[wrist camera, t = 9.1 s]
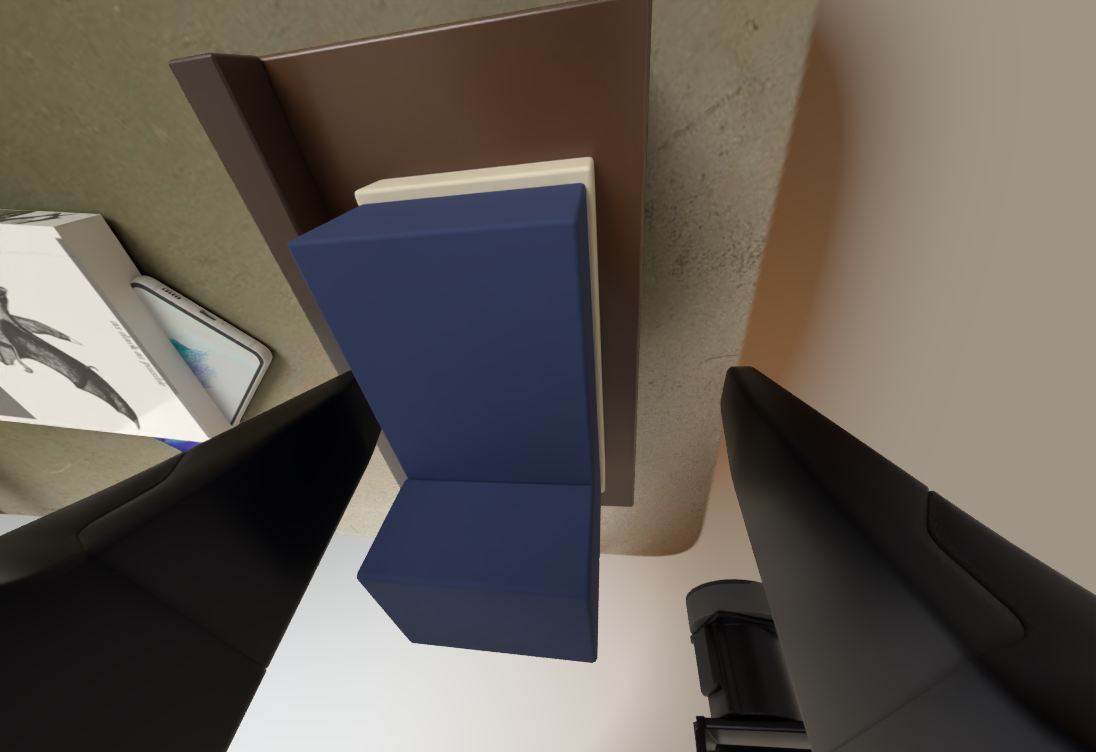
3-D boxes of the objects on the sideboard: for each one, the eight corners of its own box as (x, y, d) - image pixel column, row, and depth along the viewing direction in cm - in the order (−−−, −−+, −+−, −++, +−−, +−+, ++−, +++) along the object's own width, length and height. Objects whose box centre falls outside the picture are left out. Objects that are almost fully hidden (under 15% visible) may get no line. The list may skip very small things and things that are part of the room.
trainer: (605, 465, 11) (603, 671, 7) (475, 462, 12) (410, 649, 8) (593, 155, 7) (570, 270, 3) (379, 179, 7) (101, 298, 3)
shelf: (625, 352, 19) (635, 536, 12) (492, 355, 21) (419, 525, 13) (627, 40, 12) (661, -31, 4) (424, 71, 13) (164, 59, 6)
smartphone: (269, 358, 22) (213, 467, 30) (279, 349, 22) (221, 459, 30) (125, 272, 19) (105, 417, 27) (141, 266, 20) (117, 408, 28)
